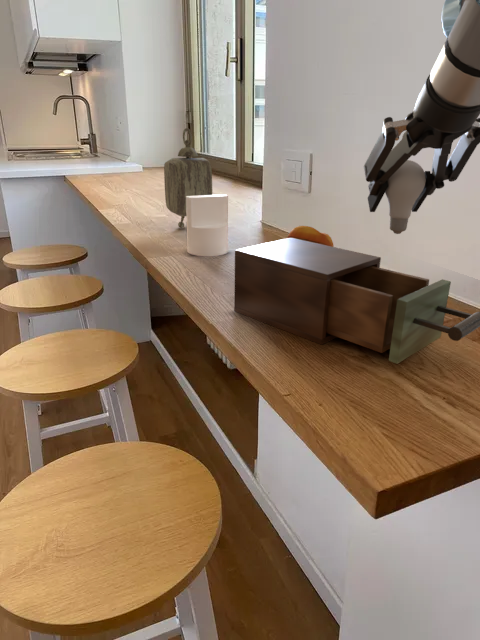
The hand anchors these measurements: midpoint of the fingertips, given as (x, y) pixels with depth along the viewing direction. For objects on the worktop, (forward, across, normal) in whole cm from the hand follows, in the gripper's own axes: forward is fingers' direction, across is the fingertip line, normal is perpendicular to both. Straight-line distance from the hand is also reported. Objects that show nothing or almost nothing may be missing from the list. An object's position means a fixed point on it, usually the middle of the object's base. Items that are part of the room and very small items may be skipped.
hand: (392, 204), depth 79 cm
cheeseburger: (+20, +11, +2) cm, 22 cm away
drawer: (-5, +7, +24) cm, 26 cm away
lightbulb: (0, 0, +6) cm, 6 cm away
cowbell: (+50, +34, -29) cm, 67 cm away
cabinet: (+4, +16, +18) cm, 24 cm away
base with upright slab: (+32, +29, -10) cm, 44 cm away
